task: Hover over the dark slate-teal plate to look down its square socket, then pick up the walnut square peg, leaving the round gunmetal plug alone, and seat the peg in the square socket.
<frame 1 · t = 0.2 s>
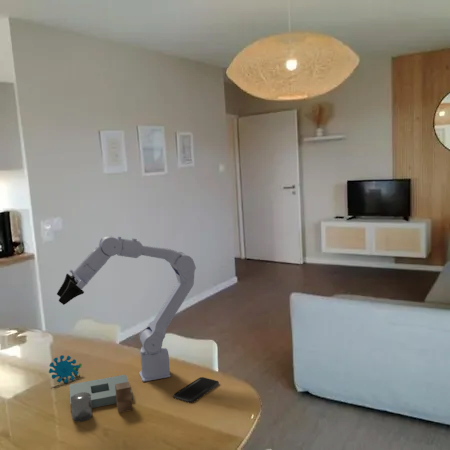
hand: (60, 299, 147), 31 cm above the table, tool tilted 45°, fingers open, 7 cm apart
gunmetal plug: (82, 416, 134), on the table
socket plate: (100, 395, 146), on the table
walnut peg: (124, 408, 138), on the table
teal spiky virus toy: (66, 379, 160), on the table
phone: (196, 392, 148), on the table
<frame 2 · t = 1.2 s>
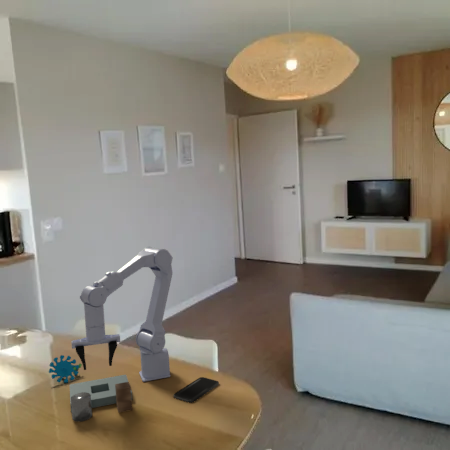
hand: (97, 366, 145), 10 cm above the table, tool pointing down, fingers open, 7 cm apart
nothing on the table moved.
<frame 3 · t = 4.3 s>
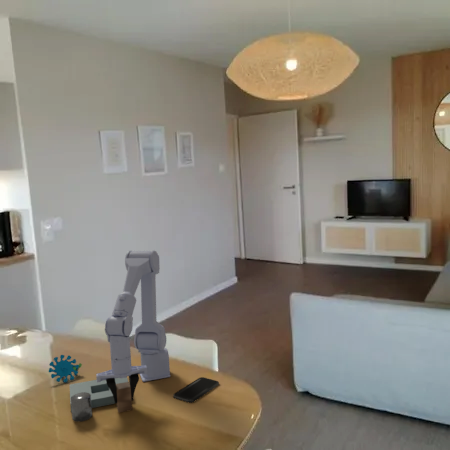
hand: (123, 400, 138), 2 cm above the table, tool pointing down, fingers closed on walnut peg, 4 cm apart
walnut peg: (124, 408, 138), on the table, touching gripper
everything else where it was.
when the fingers open (3 cm above the table, at t = 8.8 s): walnut peg stays where it is, resting in socket plate.
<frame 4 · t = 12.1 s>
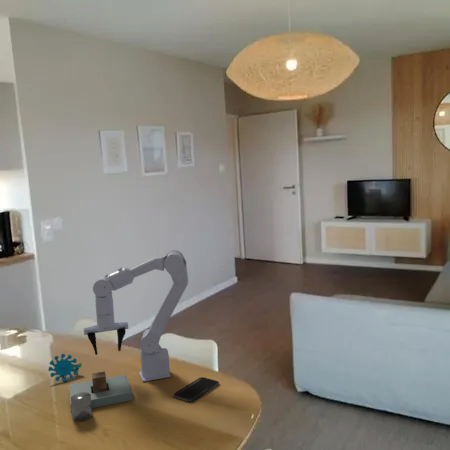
hand: (107, 351, 158), 9 cm above the table, tool pointing down, fingers open, 7 cm apart
walnut peg: (100, 396, 146), resting in socket plate
at the end: walnut peg 0.1 cm off-centre on the socket plate, point 0.0 cm above the socket plate's base; walnut peg tilted 0°; gunmetal plug moved 0.1 cm from its start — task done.
